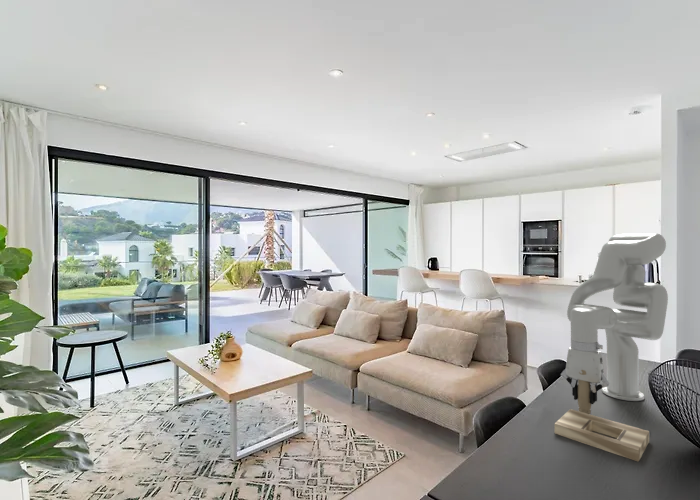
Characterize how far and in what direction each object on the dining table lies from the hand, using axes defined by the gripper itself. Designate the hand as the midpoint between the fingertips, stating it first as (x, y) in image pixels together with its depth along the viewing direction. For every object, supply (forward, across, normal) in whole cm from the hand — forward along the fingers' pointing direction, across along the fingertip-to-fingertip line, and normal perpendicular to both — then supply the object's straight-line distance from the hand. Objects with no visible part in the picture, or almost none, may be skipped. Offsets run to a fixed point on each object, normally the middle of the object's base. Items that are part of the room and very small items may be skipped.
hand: (584, 400), depth 123 cm
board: (+4, -8, +14) cm, 17 cm away
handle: (+4, 0, 0) cm, 4 cm away
